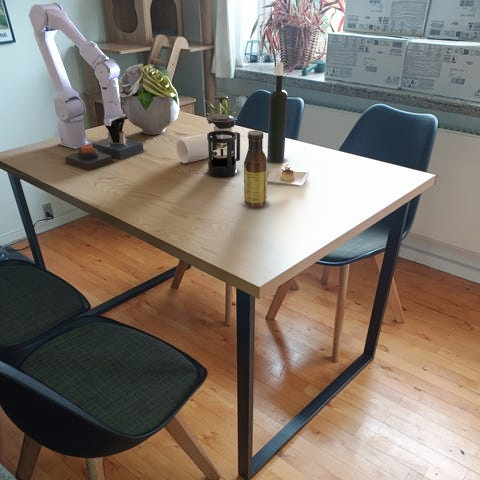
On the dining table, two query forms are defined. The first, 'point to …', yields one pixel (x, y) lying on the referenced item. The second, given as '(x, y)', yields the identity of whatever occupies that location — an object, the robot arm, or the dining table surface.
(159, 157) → the dining table surface
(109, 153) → the dial panel
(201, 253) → the dining table surface
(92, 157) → the button base
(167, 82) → the flower arrangement
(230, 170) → the french press
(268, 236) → the dining table surface
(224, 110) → the house plant
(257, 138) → the sauce bottle
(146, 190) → the dining table surface
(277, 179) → the dessert
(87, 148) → the button
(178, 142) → the mug
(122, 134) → the grey rectangular block
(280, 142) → the wine bottle
